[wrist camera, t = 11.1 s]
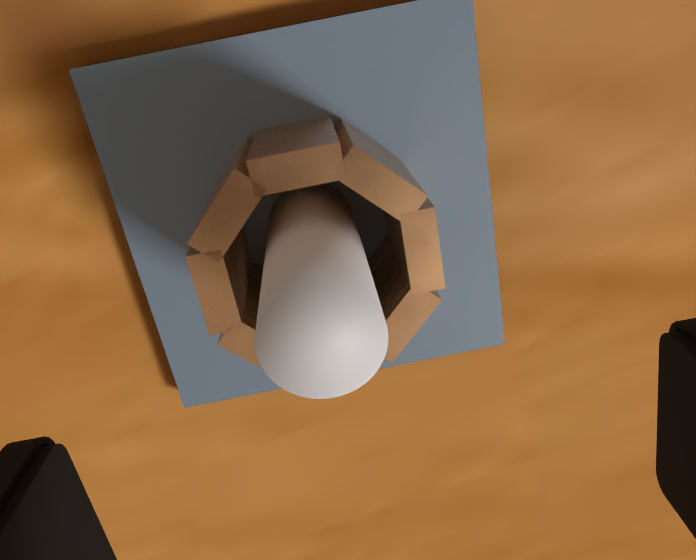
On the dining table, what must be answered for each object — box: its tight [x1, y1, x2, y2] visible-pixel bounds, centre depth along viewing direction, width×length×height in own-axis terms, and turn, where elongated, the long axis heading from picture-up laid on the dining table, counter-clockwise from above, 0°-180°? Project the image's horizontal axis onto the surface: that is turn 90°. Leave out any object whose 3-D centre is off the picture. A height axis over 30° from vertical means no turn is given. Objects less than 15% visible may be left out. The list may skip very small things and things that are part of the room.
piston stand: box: [69, 0, 505, 408], centre depth 19 cm, size 13×13×10 cm
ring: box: [185, 115, 445, 370], centre depth 20 cm, size 7×7×5 cm
